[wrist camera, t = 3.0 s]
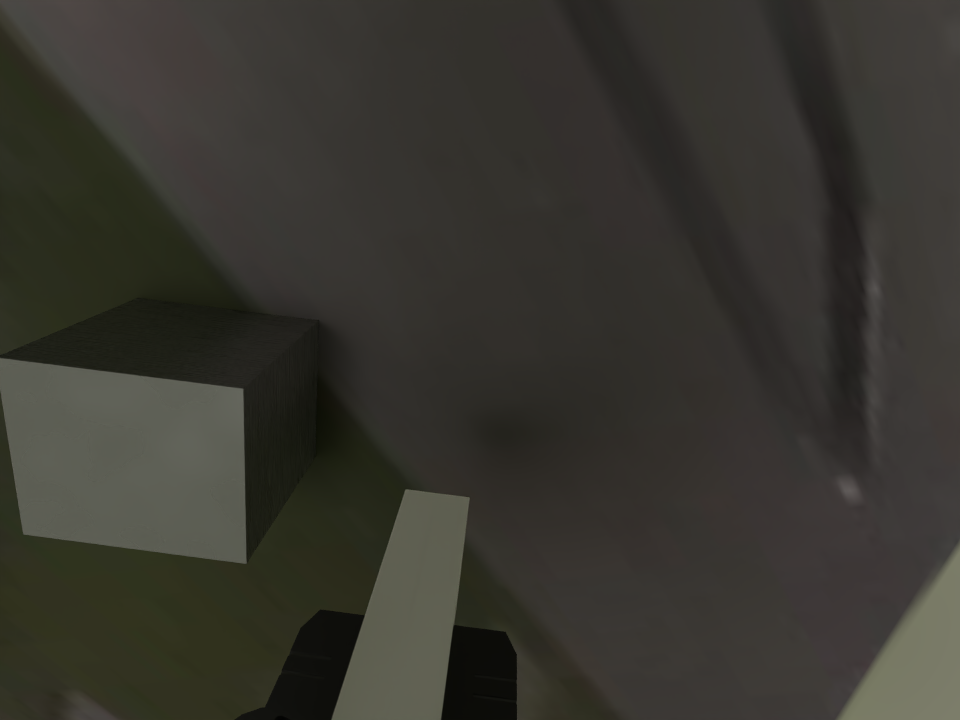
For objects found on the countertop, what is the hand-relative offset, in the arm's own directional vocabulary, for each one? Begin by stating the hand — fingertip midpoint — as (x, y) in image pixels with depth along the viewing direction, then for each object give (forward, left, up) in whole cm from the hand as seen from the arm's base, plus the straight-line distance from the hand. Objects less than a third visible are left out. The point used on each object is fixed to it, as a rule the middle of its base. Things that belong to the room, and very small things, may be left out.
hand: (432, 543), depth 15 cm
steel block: (+8, 0, -7) cm, 10 cm away
